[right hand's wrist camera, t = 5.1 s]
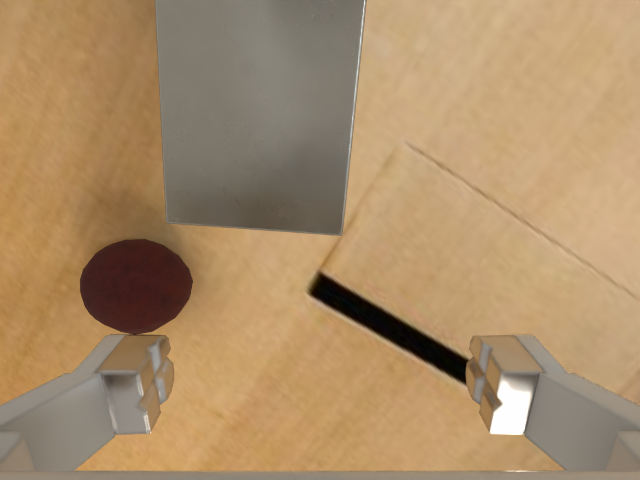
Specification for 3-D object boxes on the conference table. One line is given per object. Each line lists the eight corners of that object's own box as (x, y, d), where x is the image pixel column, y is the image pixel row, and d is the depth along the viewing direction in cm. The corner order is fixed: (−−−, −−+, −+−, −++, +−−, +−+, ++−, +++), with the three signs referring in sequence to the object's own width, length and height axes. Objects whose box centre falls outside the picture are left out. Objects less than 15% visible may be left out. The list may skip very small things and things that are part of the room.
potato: (105, 225, 32) (50, 256, 25) (200, 229, 32) (170, 262, 26) (115, 304, 34) (67, 352, 28) (204, 308, 35) (177, 357, 28)
